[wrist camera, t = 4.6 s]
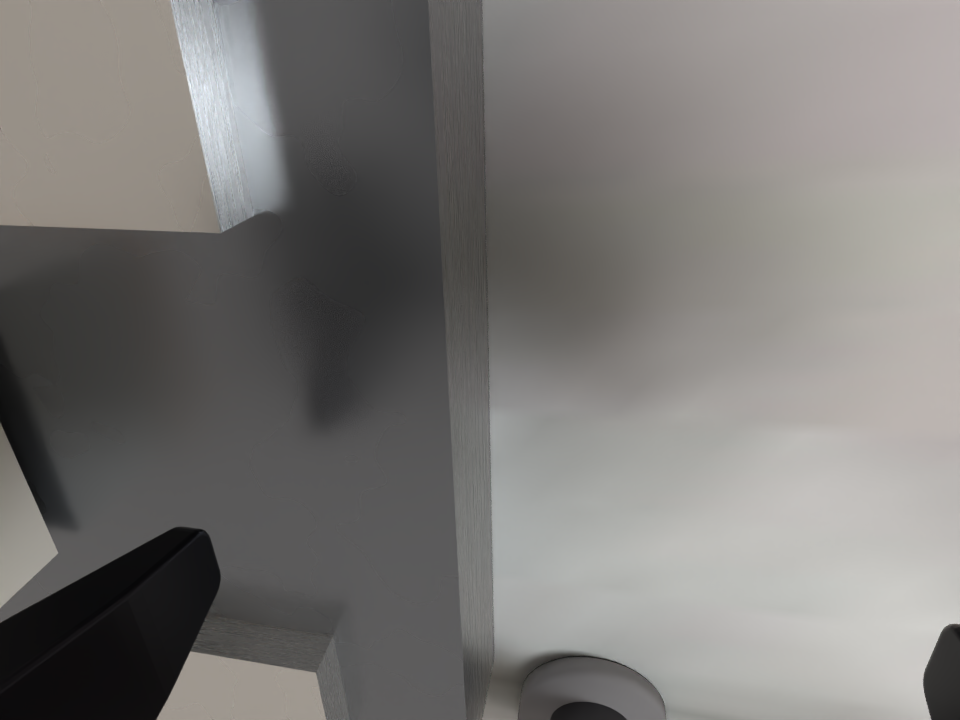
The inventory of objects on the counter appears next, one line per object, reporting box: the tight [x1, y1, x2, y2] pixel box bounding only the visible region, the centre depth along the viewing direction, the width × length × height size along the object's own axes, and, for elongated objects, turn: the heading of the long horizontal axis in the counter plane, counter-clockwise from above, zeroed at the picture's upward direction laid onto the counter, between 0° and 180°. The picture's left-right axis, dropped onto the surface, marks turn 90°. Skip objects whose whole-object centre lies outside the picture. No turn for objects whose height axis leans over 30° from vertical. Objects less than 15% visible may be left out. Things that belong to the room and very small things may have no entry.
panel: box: [0, 0, 494, 720], centre depth 12 cm, size 16×12×4 cm
